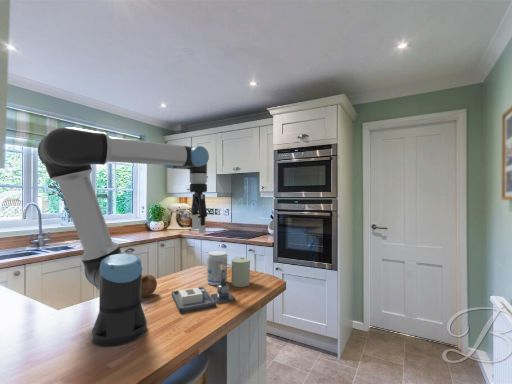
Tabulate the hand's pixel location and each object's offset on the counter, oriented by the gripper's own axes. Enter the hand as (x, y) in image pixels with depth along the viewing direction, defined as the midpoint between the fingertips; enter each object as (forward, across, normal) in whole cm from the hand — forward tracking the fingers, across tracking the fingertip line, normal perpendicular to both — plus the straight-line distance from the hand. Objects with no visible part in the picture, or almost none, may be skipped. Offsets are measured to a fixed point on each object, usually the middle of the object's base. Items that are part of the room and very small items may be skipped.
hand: (198, 230), depth 118 cm
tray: (+27, -9, +5) cm, 29 cm away
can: (+28, +2, -21) cm, 35 cm away
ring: (+26, -10, +6) cm, 28 cm away
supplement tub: (+28, +8, -11) cm, 31 cm away
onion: (+27, +4, +22) cm, 35 cm away
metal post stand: (+27, -12, -8) cm, 31 cm away
